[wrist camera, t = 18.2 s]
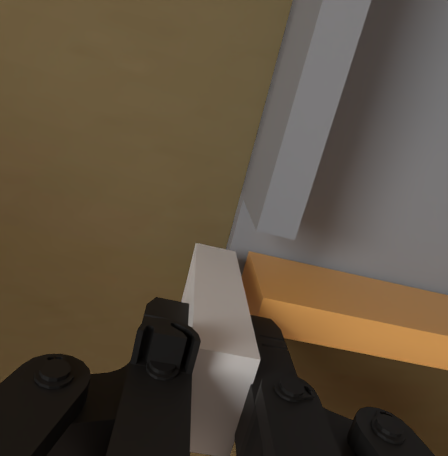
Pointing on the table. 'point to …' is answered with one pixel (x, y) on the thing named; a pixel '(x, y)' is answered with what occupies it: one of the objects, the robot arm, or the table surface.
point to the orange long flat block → (348, 310)
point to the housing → (354, 144)
